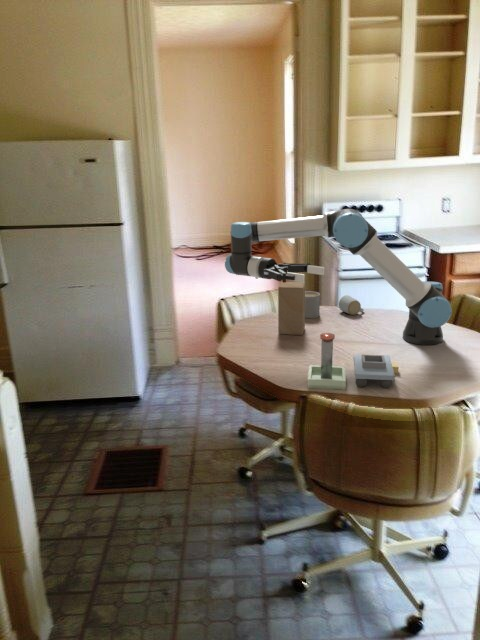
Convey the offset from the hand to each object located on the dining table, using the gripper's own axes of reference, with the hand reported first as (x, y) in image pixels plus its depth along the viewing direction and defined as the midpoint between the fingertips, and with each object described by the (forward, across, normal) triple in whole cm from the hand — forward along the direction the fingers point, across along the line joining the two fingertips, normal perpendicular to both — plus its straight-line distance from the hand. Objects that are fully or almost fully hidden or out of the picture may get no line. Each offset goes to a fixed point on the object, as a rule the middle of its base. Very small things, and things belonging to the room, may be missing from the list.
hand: (314, 274), depth 193 cm
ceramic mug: (-16, -64, -32) cm, 73 cm away
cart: (+25, +1, -32) cm, 41 cm away
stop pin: (+12, +12, -31) cm, 35 cm away
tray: (+12, +12, -32) cm, 36 cm away
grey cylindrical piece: (-30, -51, -32) cm, 68 cm away
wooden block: (-25, -26, -32) cm, 48 cm away
